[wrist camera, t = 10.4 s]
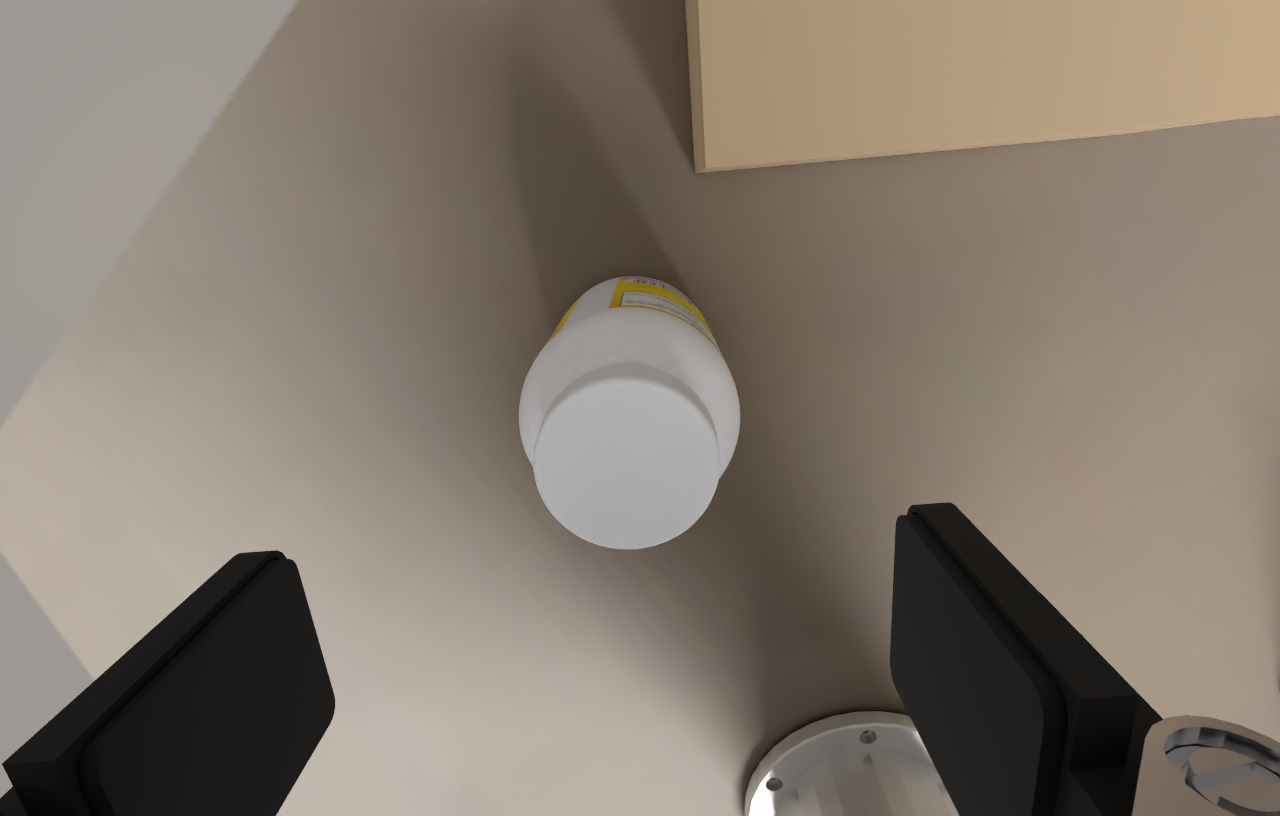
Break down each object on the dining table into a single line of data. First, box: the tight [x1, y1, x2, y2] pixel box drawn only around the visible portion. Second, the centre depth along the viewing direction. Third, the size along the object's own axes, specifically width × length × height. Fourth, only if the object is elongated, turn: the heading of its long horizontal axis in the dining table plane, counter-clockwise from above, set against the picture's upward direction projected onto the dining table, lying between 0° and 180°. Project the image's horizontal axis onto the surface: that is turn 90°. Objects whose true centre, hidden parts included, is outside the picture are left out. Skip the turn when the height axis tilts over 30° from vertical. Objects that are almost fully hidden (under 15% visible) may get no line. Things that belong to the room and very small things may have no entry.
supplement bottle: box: [519, 276, 740, 549], centre depth 22 cm, size 7×7×13 cm
